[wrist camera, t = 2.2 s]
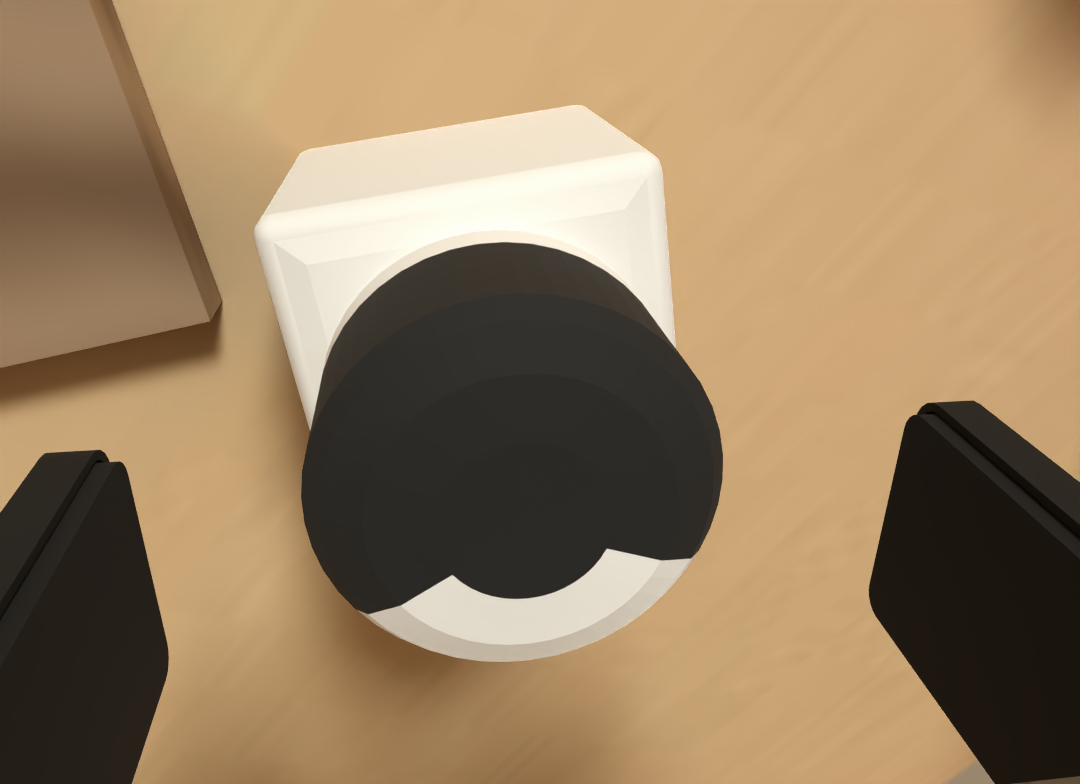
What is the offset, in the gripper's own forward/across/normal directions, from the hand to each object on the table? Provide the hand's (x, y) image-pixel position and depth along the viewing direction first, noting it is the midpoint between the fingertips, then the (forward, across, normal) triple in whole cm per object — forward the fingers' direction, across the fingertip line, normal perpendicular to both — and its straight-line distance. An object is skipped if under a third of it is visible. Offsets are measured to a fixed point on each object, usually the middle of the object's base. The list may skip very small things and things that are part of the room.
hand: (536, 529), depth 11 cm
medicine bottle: (+13, 0, +1) cm, 13 cm away
